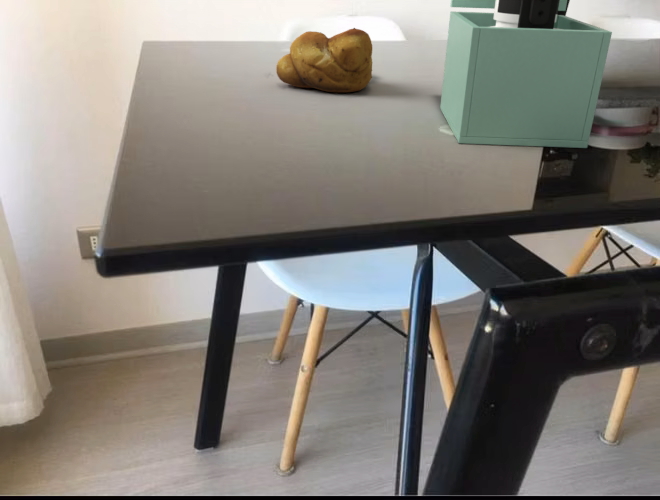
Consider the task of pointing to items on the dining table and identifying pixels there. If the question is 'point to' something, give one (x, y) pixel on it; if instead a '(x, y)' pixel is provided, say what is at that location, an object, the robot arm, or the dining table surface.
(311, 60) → the bread roll
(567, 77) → the cool box
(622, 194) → the dining table surface
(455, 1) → the lid
